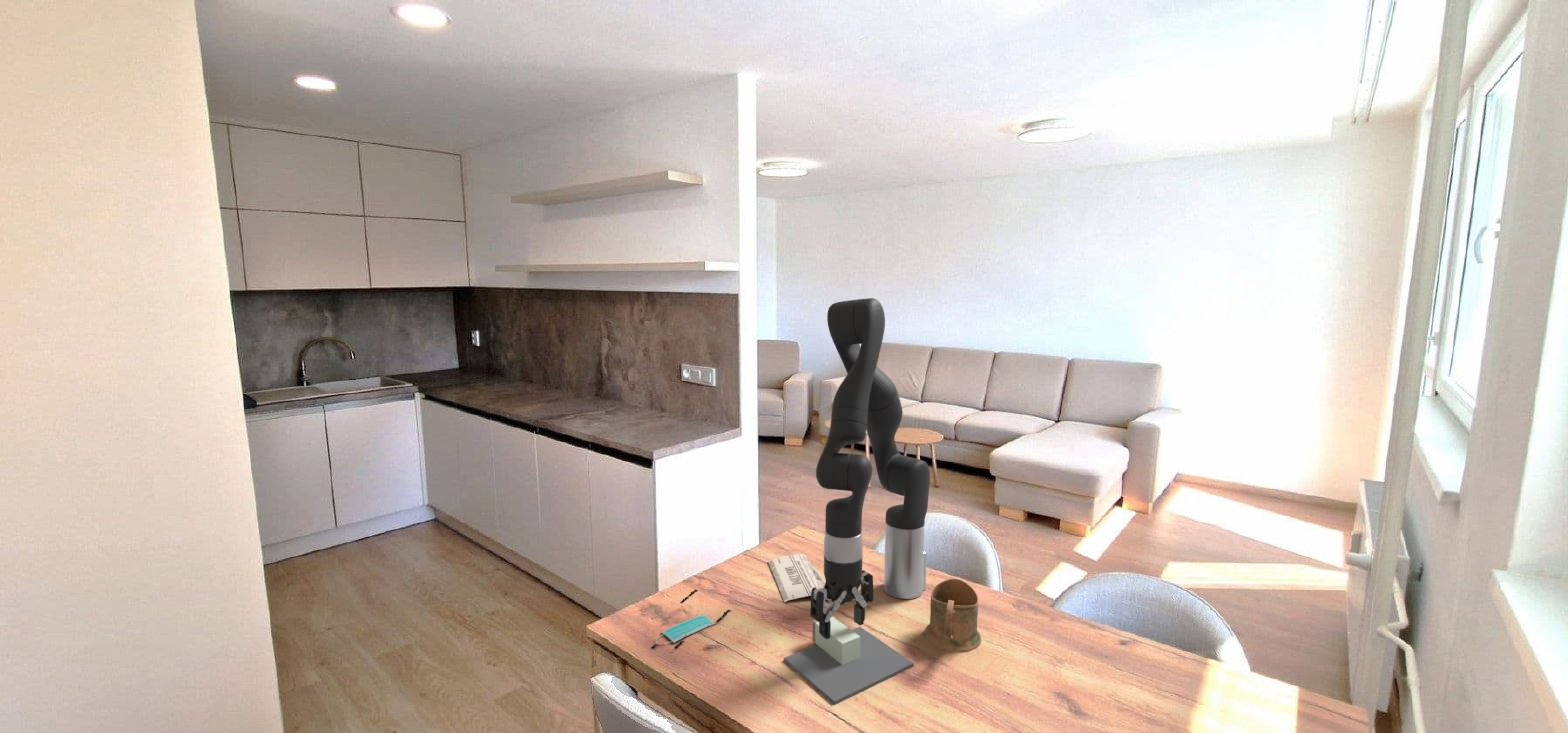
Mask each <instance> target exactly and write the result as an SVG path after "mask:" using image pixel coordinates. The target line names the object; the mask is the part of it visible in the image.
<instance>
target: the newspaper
mask: <svg viewBox="0 0 1568 733" xmlns="http://www.w3.org/2000/svg"><path fill="white" fill-rule="evenodd" d="M767 562H768V566H769V568H770V571H771V573H772V575H773V578H774V581H775V583H776V585H777V588H778V590H779V593H780V596H781V597H782V598H781V599H782V600H783V602H784V604H786V602H788V601H792V600H796V599H801V598H805V597H809V596H810V597H811V590H812V589H813V588H814V587H815V588H817V589H820V588H824V586H825V583H826V580H825V579H824V578H823V576H822V575H821V574H820V572H819V571H818V570H817V569H816V568H815V566H813V565H812V563H811V562H810V560H809V558H808V556H807V555H805V554H803V553H799V554H798V553H797V554H791V555H786V556H785V555H784V556H780V557H775V558H771V559H769V560H768V561H767Z"/></svg>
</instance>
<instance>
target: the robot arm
mask: <svg viewBox="0 0 1568 733" xmlns="http://www.w3.org/2000/svg"><path fill="white" fill-rule="evenodd" d="M827 310H828V311H827V317H826V318H827V319H826V321H827V327H828V330H829V331H828V332H829V335H830V337H831V340H832V342H833V344H834V346H835V348H836V349H835V350H836V351H837V353H838V355H839V357H840V360H841V362H842V364H843V366H844V369H845V371H846V376H845V377H844V379H843V380H842V381H841V383H840V385H839V387H838V388H837V390H836V393H835V395H834V398H833V401H832V409H831V419H830V427H829V431H828V432H829V433H828V436H827V439H826V441H825V445H824V448H823V450H822V452H821V454H820V457H819V458H818V461H817V464H816V468H815V475H816V476H815V478H816V480H817V483H818V485H819V486H821V487H822V488H823V489H827V490H833V491H834V490H836V491H843V492H844V491H845V492H851V495H850V496H847V497H840V498H839V497H838V498H834V499H832V500H830V501H828V502H827V503H826V505H825V517H824V519H825V522H824V523H825V531H824V539H823V576H824V578H825V579H824V580H825V582H826V583H825V586H824V588H820V589H817V588H815V587H814V588H813V589H812V590H811V596H810V608H809V609H810V611H809V613H810V614H809V616H810V617H811V618H812V619H813V620H817V621H818V622H819V633H820V634H821V635H822V636H823V637H824V638H825V639H829V638H830V630H831V621H829V620H830V618H831V616H833V614H834V613H836V612H837V610H838V609H839V607H841V606H843V605H845V604H846V603H851V602H854V605H853V622H854V623H855V624H857V625H858V626H862V625H864V624H865V623H864V622H865V619H866V607H867V606H868V603H872V602H873V601H874V576H873V574H871V573H869V572H867V571H866V570H864V569H863V556H864V554H863V552H864V551H863V550H864V549H863V547H864V546H863V534H862V522H863V508H864V507H863V506H864V502H865V497H866V494H867V491H868V489H869V485H870V482H871V479H872V476H873V467H872V463H871V461H870V459H869V458H868V457H867V456H866V455H864V454H857V453H856V454H855V453H845V452H844V453H841V452H840V450H842V449H843V447H845V446H847V445H848V446H849V445H856V444H858V443H862V442H863V441H864V440H865V438H866V434H867V437H868V439H869V441H870V442H869V443H870V444H871V445H870V446H871V450H872V454H873V457H874V458H873V459H874V463H875V467H876V468H875V469H876V473H877V477H878V479H879V483H880V485H881V486H882V488H883V489H884V490H885V491H887V492H889V493H893V494H896V495H899V496H902V497H903V504H897V505H895V504H894V505H893V506H890V507H888V508H887V509H886V512H885V524H884V525H885V526H884V529H885V530H884V532H885V533H884V535H885V536H884V537H885V538H884V568H883V569H884V571H883V572H884V574H883V577H884V578H883V581H884V583H883V590H884V592H885V593H886V594H887V595H889V596H891V597H894V598H897V599H901V600H911V599H915V598H918V597H921V595H922V594H923V593H924V592H923V591H925V590H926V580H927V579H926V578H927V556H928V555H927V552H926V551H925V524H926V523H925V522H926V516H927V512H928V504H929V496H930V495H929V494H930V484H931V483H930V479H931V473H930V472H931V471H930V468H929V465H928V464H927V462H926V461H924V460H922V459H918V458H915V457H910V456H906V455H902V454H901V453H900V452H899V450H898V447H897V445H896V441H895V440H896V439H895V436H896V433H897V431H898V430H899V428H900V425H901V422H902V419H903V414H904V413H903V411H904V410H903V406H902V403H901V400H900V396H899V393H898V390H897V387H896V384H895V383H894V382H893V381H892V379H891V378H889V376H888V375H887V374H886V373H885V372H884V371H883V370H881V368H879V367H878V361H879V357H880V352H881V350H882V349H881V348H882V344H883V341H884V335H885V328H886V317H885V311H884V310H885V309H884V308H883V306H882V303H881V302H880V301H879V300H878V299H876V298H874V297H870V298H869V297H868V298H860V299H859V298H858V299H850V300H844V301H837V302H834V303H832V304H831V305H830V306H829V308H828V309H827ZM859 588H860V591H859ZM830 602H832V603H833V604H830Z"/></svg>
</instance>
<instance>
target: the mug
mask: <svg viewBox="0 0 1568 733" xmlns="http://www.w3.org/2000/svg"><path fill="white" fill-rule="evenodd" d="M929 605H930V615H929V624H927V625H926V627H925V628H924V629H925V630H924V634H925V638H926V640H927V641H928V642H929V643H930V644H932V645H933V646H935V647H937V648H939V649H941V650H944V651H948V652H955V653H965V652H966V651H967V652H971V651H973V649H974V650H976V649H977V648H978V647H979V646H980V645H981V643H982V635H981V633H980V632H979V631H978V617H979V616H978V614H979V612H978V611H979V597H978V594H977V592H976V591H975V589H974V588H973V587H972V586H971V585H970V584H968V583H967V582H966V581H964V580H962V579H959V578H949V579H946V580H944V581H943V580H942V581H941V582H939V583H937V584H936V585H935V586H934V587H933V589H932V590H931V592H930V604H929Z"/></svg>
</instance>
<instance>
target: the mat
mask: <svg viewBox="0 0 1568 733" xmlns="http://www.w3.org/2000/svg"><path fill="white" fill-rule="evenodd" d="M851 630H852V631H853V632H855V633H856V634H857V635H859V636H860V658H858V659H856V660H853V661H851V662H849V663H846V664H844V665H841V664H840V663H839V662H838V661H837V660H835V659H834V658H833V657H832V656H830V655H829V654H828V653H827V652H825V651H824V650H823V649H822V648H821V647H819V646H818V645H817V644H816V643H815V644H814V645H811V646H810V647H808V648H805V649H802V650H800V651H797V652H794V653H792V654H790V655H788V656H785V657H783V661H784V662H785V664H787V665H788V666H789V667H791V669H792V670H794V671H795V672H796V673H798V674H799V675H800V676H801V677H802V678H803V679H804V680H806V682H808V683H809V684H810V685H811V686H812V687H813V688H815V689H816V690H817V691H818V692H820V693H821V695H823V696H824V697H825V698H827V700H829V701H830V702H831V703H832V704H833V705H837V704H839V703H841V702H843V701H845V700H848V699H849V698H851V697H853V696H856V695H857V694H860V693H861V692H864V691H866V690H867V689H869V688H872V687H874V686H876V685H877V684H880V683H883V682H884V681H886V680H888V679H890V678H892V677H894V676H896V675H898V674H901V673H903V672H905V671H906V670H908V669H911V668H913V667H915V663H914V662H913V661H912V660H910V659H909V658H907V657H905V656H904V655H903V654H902V653H899V651H897V650H895V649H894V648H893V647H891V646H889V645H888V644H887V643H885V642H883V641H882V640H881V639H879V638H878V637H876V636H875V635H873V634H872V633H870V632H869V631H867V630H866V629H864V628H863V627H862V626H859V627H856V628H853V629H851Z"/></svg>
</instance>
